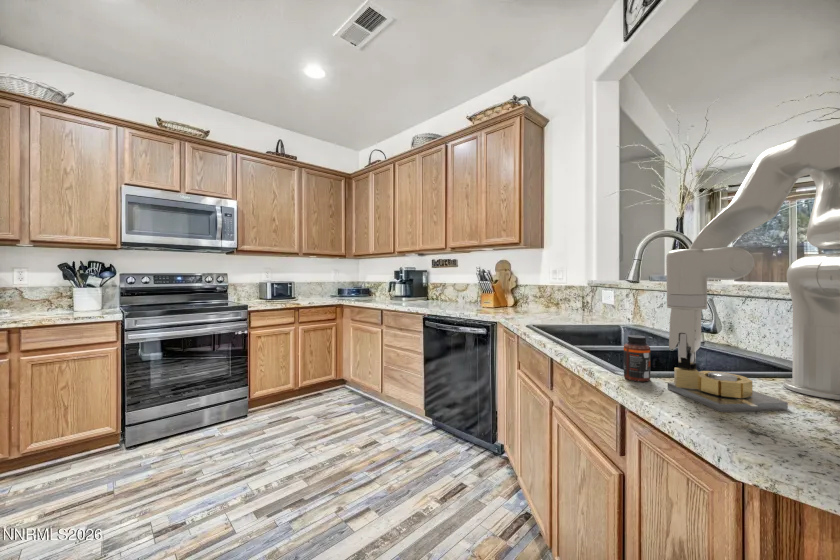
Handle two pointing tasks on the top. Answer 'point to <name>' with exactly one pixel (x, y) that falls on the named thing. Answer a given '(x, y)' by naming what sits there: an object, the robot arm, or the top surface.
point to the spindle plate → (730, 398)
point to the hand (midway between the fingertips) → (687, 379)
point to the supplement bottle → (637, 359)
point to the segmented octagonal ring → (712, 383)
